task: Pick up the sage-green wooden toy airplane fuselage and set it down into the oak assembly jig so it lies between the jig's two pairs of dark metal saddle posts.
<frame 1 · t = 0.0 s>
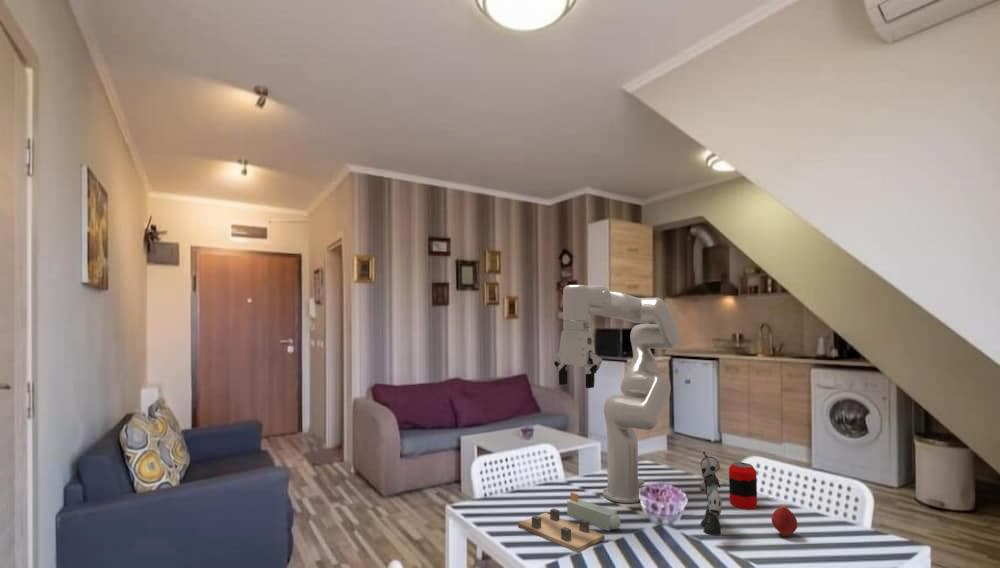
hand: (576, 386, 145), 37 cm above the table, tool pointing down, fingers open, 9 cm apart
onion: (784, 536, 131), on the table
fuselage: (591, 521, 139), on the table
robot: (711, 529, 135), on the table
soda can: (743, 505, 153), on the table
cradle: (560, 532, 132), on the table
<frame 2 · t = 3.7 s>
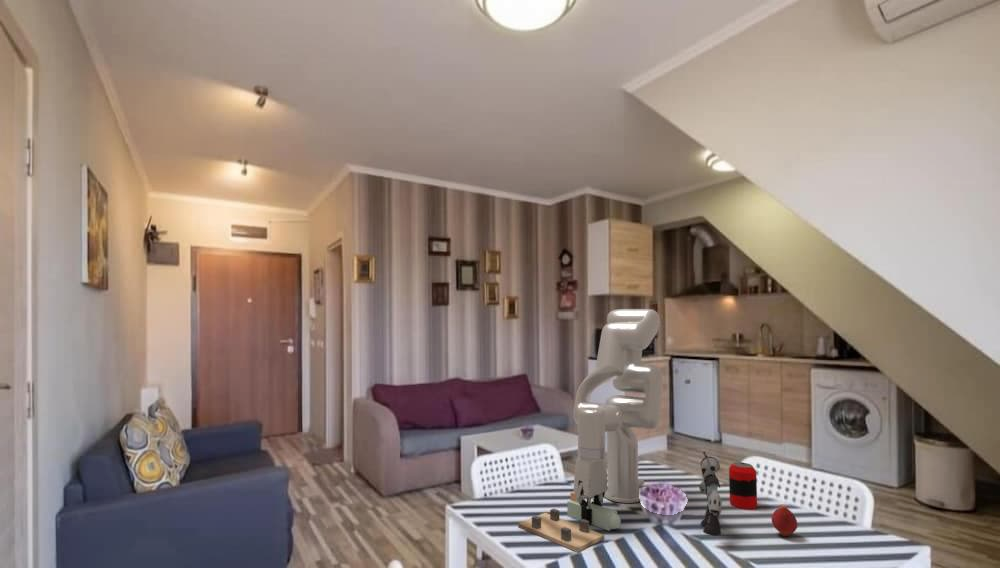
hand: (591, 519, 139), 1 cm above the table, tool pointing down, fingers closed on fuselage, 4 cm apart
fuselage: (591, 521, 139), on the table, touching gripper
everything else where it was.
when the fingers open (3 cm above the table, at t = 8.8 s): fuselage drops 2 cm, resting on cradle.
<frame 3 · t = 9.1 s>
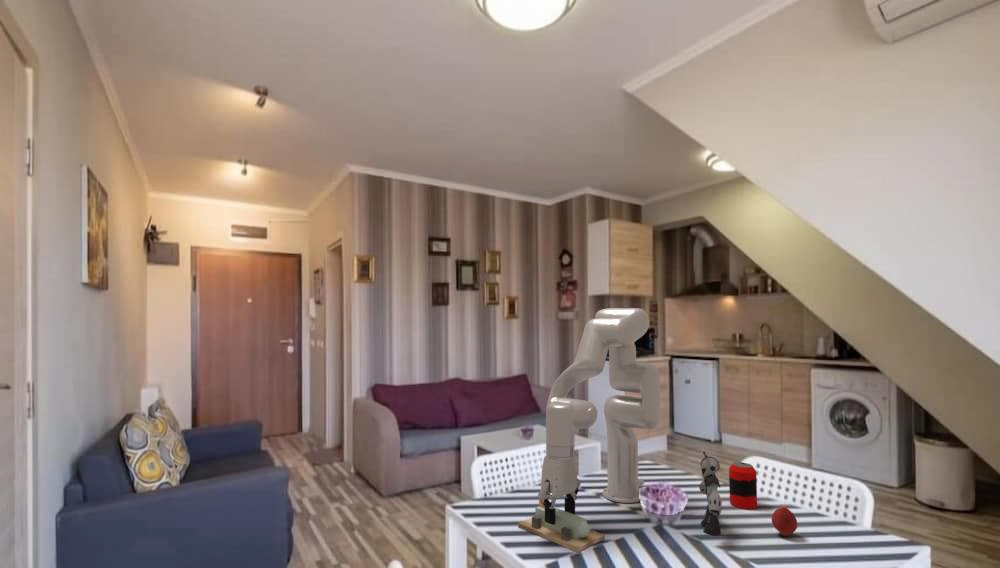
hand: (560, 518, 132), 4 cm above the table, tool pointing down, fingers open, 7 cm apart
fuselage: (560, 528, 132), point 1 cm above the table, touching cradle
everything else where it was.
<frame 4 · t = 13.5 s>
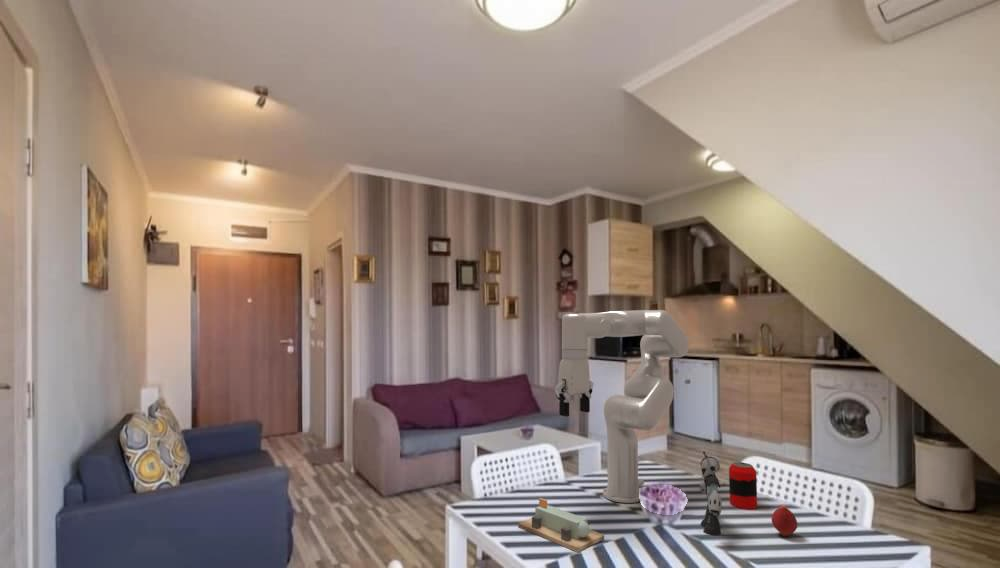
hand: (574, 413, 148), 28 cm above the table, tool pointing down, fingers open, 9 cm apart
nothing on the table moved.
at the end: fuselage 0.1 cm off-centre on the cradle, point 1.0 cm above the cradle's base; fuselage tilted 0°; the gripper is holding nothing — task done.
